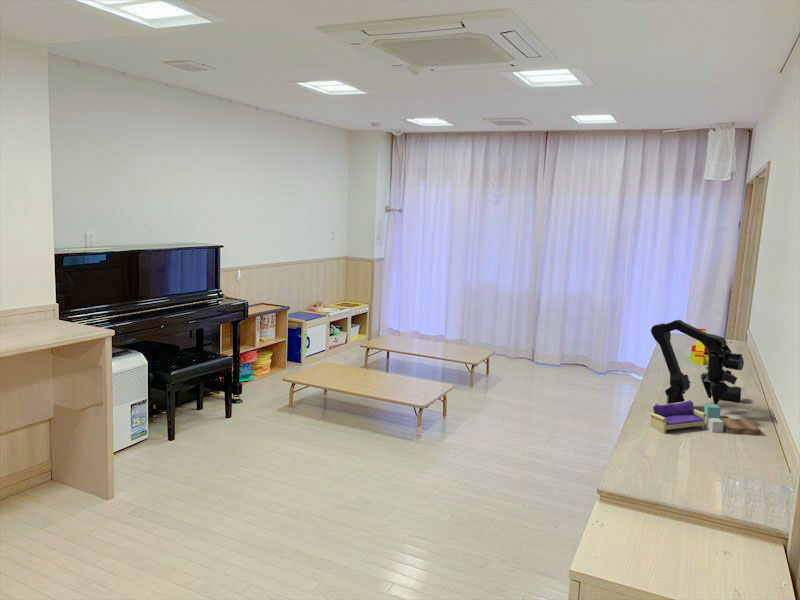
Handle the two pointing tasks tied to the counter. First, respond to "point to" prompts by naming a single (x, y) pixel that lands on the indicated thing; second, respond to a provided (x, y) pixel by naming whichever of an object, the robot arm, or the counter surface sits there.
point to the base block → (740, 427)
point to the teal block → (712, 411)
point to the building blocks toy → (699, 353)
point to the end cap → (732, 394)
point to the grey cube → (714, 425)
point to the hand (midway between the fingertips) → (712, 401)
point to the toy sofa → (676, 416)
